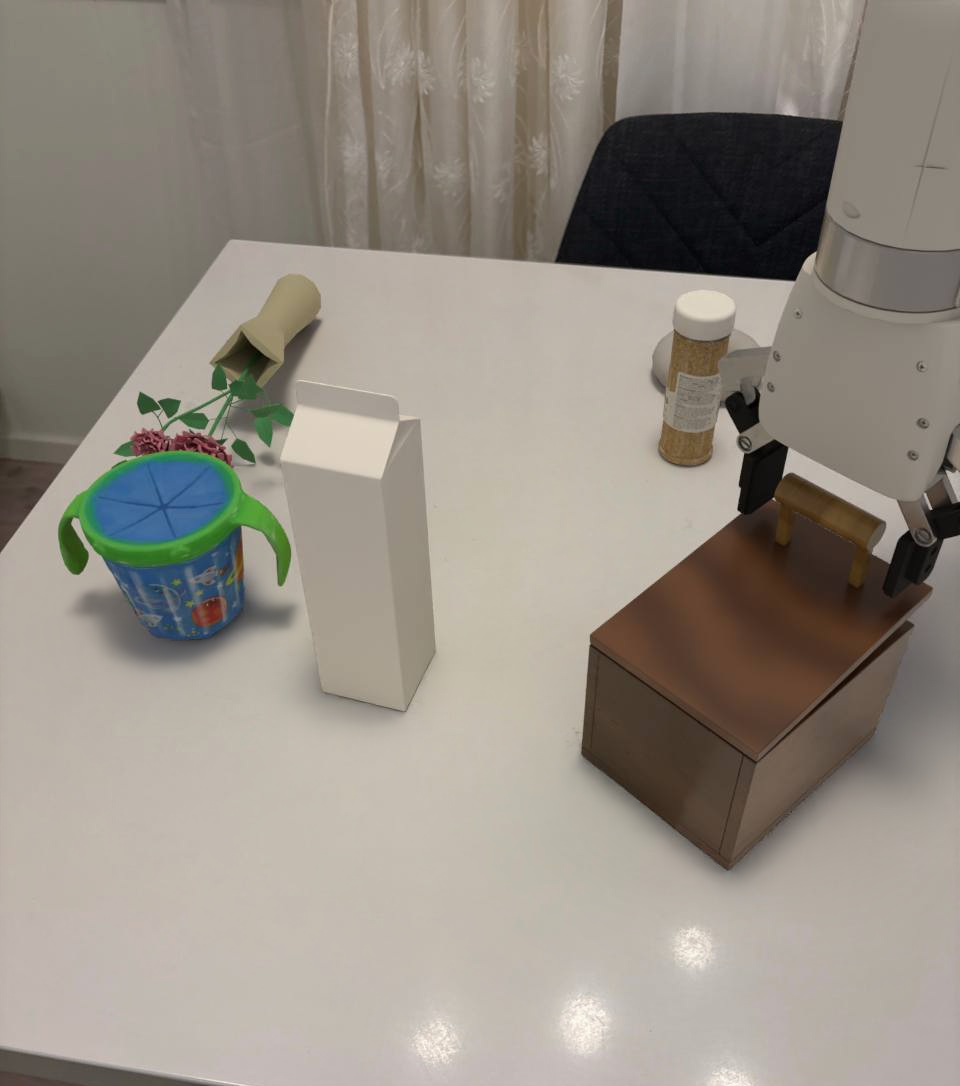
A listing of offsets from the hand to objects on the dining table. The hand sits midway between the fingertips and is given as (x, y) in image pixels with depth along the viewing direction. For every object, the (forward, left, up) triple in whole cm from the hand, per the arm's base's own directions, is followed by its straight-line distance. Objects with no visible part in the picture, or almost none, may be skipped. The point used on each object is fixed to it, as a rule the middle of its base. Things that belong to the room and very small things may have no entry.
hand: (826, 542), depth 61 cm
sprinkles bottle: (-16, -22, -14) cm, 31 cm away
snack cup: (+24, -34, -14) cm, 44 cm away
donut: (-26, -28, -14) cm, 41 cm away
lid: (+5, 0, -3) cm, 6 cm away
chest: (+6, 0, -13) cm, 14 cm away
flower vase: (+7, -51, -14) cm, 53 cm away
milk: (+18, -20, -14) cm, 30 cm away
